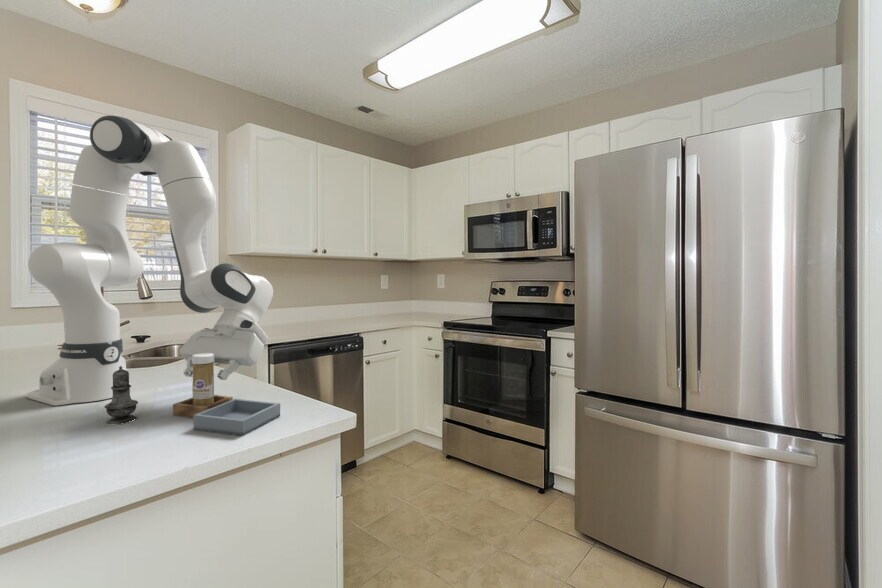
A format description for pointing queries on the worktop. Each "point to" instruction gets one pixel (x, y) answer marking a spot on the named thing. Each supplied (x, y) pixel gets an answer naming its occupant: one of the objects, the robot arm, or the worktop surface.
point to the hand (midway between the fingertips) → (204, 377)
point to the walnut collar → (197, 406)
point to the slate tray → (236, 416)
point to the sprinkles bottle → (203, 378)
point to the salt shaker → (121, 399)
